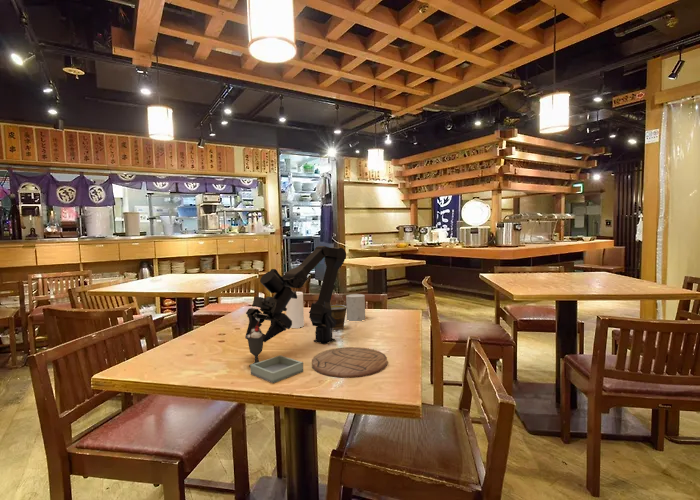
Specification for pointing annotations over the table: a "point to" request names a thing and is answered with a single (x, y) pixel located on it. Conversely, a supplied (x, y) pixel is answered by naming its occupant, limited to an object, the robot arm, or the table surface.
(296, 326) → the cup
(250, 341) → the sundae
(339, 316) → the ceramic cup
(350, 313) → the grey stone cylinder
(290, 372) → the grey square tray
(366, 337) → the table surface
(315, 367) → the trivet
